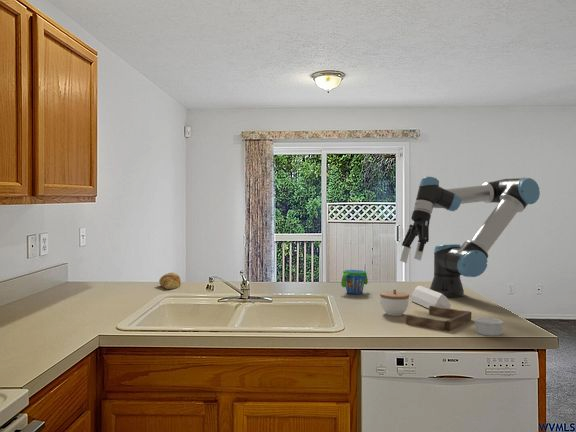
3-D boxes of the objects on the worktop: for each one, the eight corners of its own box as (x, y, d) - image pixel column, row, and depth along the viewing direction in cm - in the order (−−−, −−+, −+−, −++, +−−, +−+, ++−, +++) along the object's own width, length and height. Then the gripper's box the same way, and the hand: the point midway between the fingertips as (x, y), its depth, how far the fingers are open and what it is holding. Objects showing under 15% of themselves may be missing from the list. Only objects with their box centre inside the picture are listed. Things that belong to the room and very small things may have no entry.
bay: (405, 323, 176) (406, 314, 176) (430, 313, 192) (430, 305, 192) (448, 331, 166) (449, 322, 166) (471, 319, 183) (471, 311, 183)
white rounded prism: (404, 292, 216) (431, 303, 193) (418, 283, 218) (446, 293, 194) (412, 306, 217) (440, 319, 194) (425, 298, 218) (454, 310, 195)
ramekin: (470, 329, 170) (470, 316, 170) (496, 329, 169) (497, 317, 169) (479, 336, 161) (479, 323, 161) (507, 337, 161) (508, 323, 160)
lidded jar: (403, 318, 183) (403, 293, 183) (375, 314, 189) (376, 290, 189) (412, 313, 192) (413, 289, 192) (385, 309, 198) (386, 286, 198)
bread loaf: (174, 297, 234) (182, 282, 234) (154, 288, 232) (163, 272, 232) (177, 288, 255) (185, 274, 255) (159, 279, 253) (167, 265, 253)
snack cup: (359, 289, 242) (359, 268, 241) (374, 293, 233) (375, 271, 233) (334, 292, 233) (334, 270, 233) (349, 296, 224) (349, 273, 224)
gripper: (401, 214, 222) (390, 260, 218) (427, 204, 198) (415, 255, 194) (417, 219, 223) (405, 265, 219) (444, 210, 199) (432, 261, 195)
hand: (410, 260), depth 206 cm, fingers open, 13 cm apart
